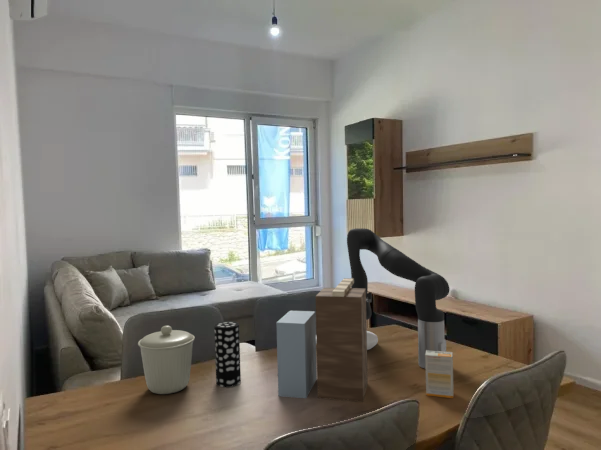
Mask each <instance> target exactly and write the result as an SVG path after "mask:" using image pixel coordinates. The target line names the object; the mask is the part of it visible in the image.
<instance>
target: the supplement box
mask: <svg viewBox="0 0 601 450" xmlns="http://www.w3.org/2000/svg"><path fill="white" fill-rule="evenodd" d="M453 353H454V352H452V351H446V352H443V351H429V350H426V354H425V367H426V369H425V394H426V396H427V397H438V398H447V399H454V361H453V360H454V358H453V357H454V355H453Z"/></svg>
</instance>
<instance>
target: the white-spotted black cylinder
mask: <svg viewBox="0 0 601 450" xmlns="http://www.w3.org/2000/svg"><path fill="white" fill-rule="evenodd" d="M213 328H214V329H213V330H214V357H215V359H214V360H215V384H216V386H218V387H221V388H231V387H235V386H237V385H240V384H241V382H242V380H241V379H242V377H241V376H242V375H241V349H240V348H241V345H240V343H241V341H240V323H239V322H237V321H228V320H227V321H221V322H217V323H214V326H213Z"/></svg>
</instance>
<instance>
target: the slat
mask: <svg viewBox="0 0 601 450" xmlns="http://www.w3.org/2000/svg"><path fill="white" fill-rule="evenodd" d="M353 284H354V278H351V277H350V278H345V277H344V278H343V279H342V280H341V281H340V282H339V283H338V284H337V285H336V287H334V288H335V289H334V290H333V291H332V297H344V296H345V294H346V293H347V292H348V290H349V289H350V288H351V286H352V285H353Z"/></svg>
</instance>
